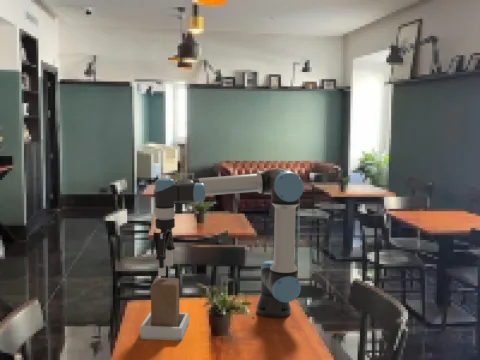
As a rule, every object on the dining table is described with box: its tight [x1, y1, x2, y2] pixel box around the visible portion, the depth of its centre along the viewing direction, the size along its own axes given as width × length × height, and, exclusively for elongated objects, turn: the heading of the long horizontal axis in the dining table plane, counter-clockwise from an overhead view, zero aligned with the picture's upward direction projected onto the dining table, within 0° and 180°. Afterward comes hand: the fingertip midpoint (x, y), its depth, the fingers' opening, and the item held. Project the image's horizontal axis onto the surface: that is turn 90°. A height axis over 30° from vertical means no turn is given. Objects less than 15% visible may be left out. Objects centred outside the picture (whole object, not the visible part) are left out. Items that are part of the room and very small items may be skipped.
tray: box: [139, 311, 190, 342], centre depth 217 cm, size 16×16×5 cm
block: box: [150, 277, 180, 327], centre depth 216 cm, size 10×10×20 cm
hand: (165, 270), depth 214 cm, fingers open, 13 cm apart
